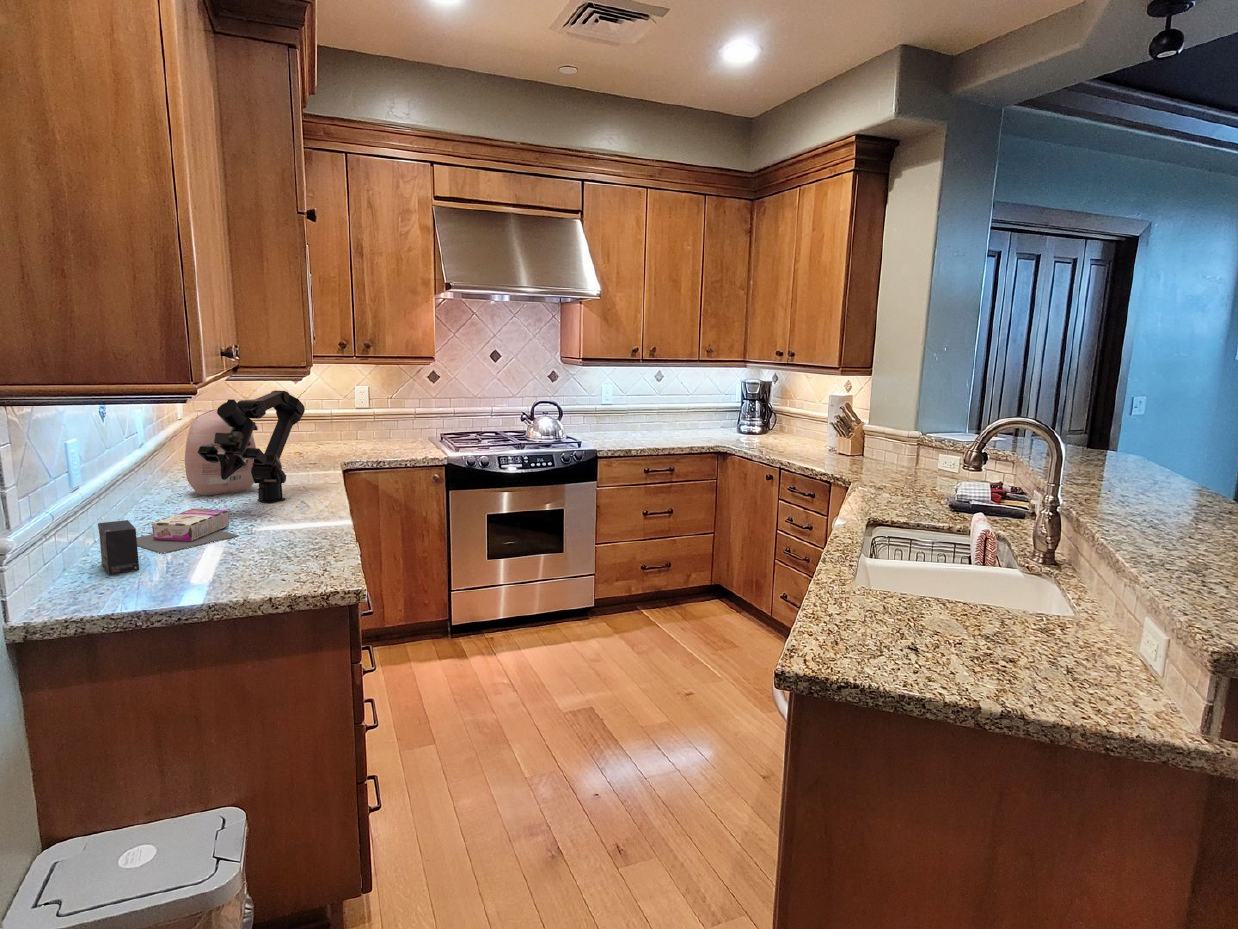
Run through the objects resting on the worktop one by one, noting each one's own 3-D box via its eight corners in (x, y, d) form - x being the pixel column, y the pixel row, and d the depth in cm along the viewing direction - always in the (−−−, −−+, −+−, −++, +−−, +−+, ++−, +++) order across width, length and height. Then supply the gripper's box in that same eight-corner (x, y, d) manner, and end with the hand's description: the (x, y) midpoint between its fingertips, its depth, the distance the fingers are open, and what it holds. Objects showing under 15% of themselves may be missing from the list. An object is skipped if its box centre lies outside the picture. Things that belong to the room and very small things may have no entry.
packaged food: (250, 485, 260) (244, 404, 255) (266, 494, 246) (260, 409, 241) (182, 492, 246) (174, 407, 240) (195, 502, 231) (187, 412, 226)
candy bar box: (194, 525, 204) (152, 540, 188) (192, 508, 203) (150, 522, 187) (230, 526, 203) (191, 542, 187) (229, 510, 202) (189, 524, 186)
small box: (141, 570, 165) (137, 527, 163) (108, 576, 161) (103, 532, 159) (133, 559, 173) (128, 518, 171) (100, 565, 168) (96, 522, 167)
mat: (199, 525, 204) (199, 524, 204) (238, 536, 194) (238, 535, 194) (123, 541, 187) (123, 540, 187) (161, 554, 177) (161, 553, 177)
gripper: (197, 419, 211) (178, 464, 203) (257, 422, 210) (240, 468, 203) (215, 438, 221) (198, 482, 213) (273, 442, 220) (258, 485, 212)
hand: (223, 479), depth 210 cm, fingers closed
